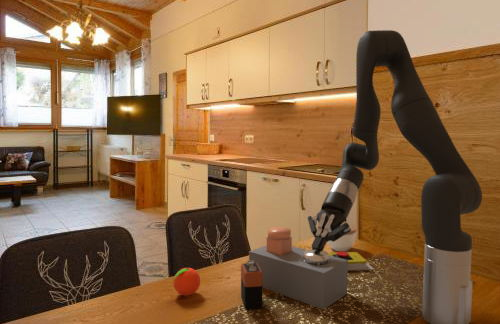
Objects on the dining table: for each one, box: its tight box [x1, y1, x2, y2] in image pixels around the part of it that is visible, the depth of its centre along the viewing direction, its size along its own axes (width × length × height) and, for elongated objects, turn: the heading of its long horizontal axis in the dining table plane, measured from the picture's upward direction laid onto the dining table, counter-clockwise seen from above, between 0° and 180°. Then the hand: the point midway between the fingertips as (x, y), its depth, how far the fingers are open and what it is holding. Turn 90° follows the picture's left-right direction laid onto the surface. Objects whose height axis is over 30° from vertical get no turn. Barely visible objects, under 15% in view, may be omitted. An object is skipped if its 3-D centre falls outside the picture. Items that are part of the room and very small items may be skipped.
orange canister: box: [266, 226, 293, 255], centre depth 105 cm, size 6×6×9 cm
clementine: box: [172, 267, 201, 296], centre depth 98 cm, size 8×7×7 cm
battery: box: [240, 260, 263, 310], centre depth 93 cm, size 4×7×10 cm, turn 10°
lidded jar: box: [327, 225, 357, 252], centre depth 136 cm, size 11×11×9 cm
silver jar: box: [302, 249, 329, 266], centre depth 98 cm, size 6×6×9 cm
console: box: [248, 244, 349, 310], centre depth 102 cm, size 24×12×9 cm, turn 48°
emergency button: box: [327, 251, 374, 271], centre depth 120 cm, size 9×4×15 cm
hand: (315, 251), depth 97 cm, fingers closed
